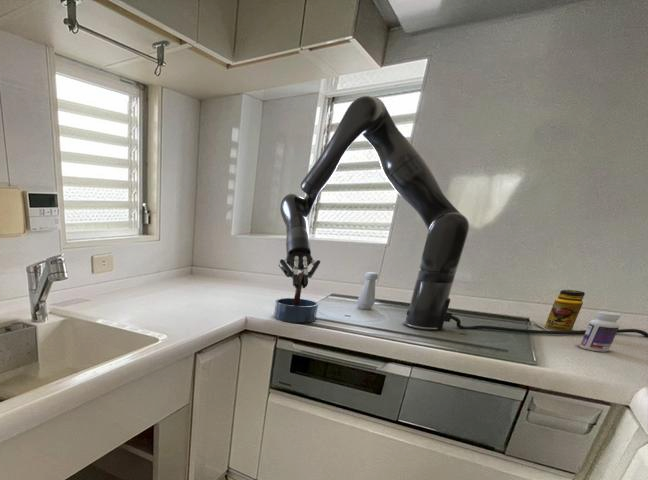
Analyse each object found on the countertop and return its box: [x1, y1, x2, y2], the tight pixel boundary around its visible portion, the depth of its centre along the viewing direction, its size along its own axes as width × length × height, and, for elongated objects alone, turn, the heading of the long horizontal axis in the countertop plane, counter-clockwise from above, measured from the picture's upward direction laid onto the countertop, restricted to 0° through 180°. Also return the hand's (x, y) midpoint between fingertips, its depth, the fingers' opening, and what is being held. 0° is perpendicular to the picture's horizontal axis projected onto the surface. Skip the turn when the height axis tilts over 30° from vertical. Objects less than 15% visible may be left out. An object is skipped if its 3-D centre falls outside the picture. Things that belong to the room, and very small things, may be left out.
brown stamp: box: [293, 272, 304, 306], centre depth 132 cm, size 5×5×13 cm
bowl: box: [273, 297, 319, 324], centre depth 133 cm, size 13×13×6 cm
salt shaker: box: [356, 271, 379, 310], centre depth 147 cm, size 6×6×13 cm
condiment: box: [535, 289, 586, 331], centre depth 123 cm, size 7×8×12 cm
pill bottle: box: [579, 311, 622, 353], centre depth 105 cm, size 5×5×10 cm
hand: (300, 286), depth 130 cm, fingers closed on brown stamp
